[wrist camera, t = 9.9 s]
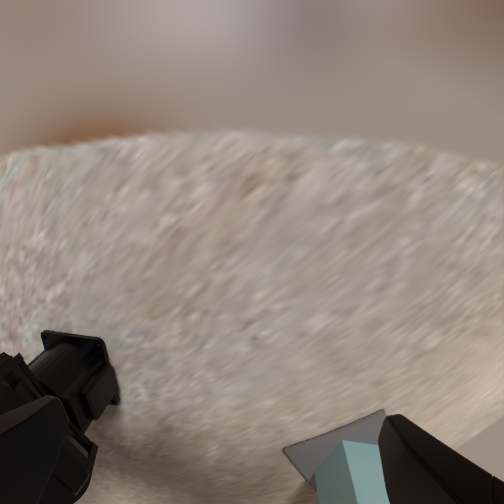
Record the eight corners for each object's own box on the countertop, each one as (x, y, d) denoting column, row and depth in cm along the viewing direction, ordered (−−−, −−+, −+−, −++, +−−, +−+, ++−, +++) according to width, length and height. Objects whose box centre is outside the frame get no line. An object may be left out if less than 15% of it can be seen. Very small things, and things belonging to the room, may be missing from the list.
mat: (318, 491, 24) (318, 494, 24) (284, 448, 23) (284, 451, 22) (400, 459, 23) (402, 462, 23) (383, 408, 22) (384, 411, 21)
